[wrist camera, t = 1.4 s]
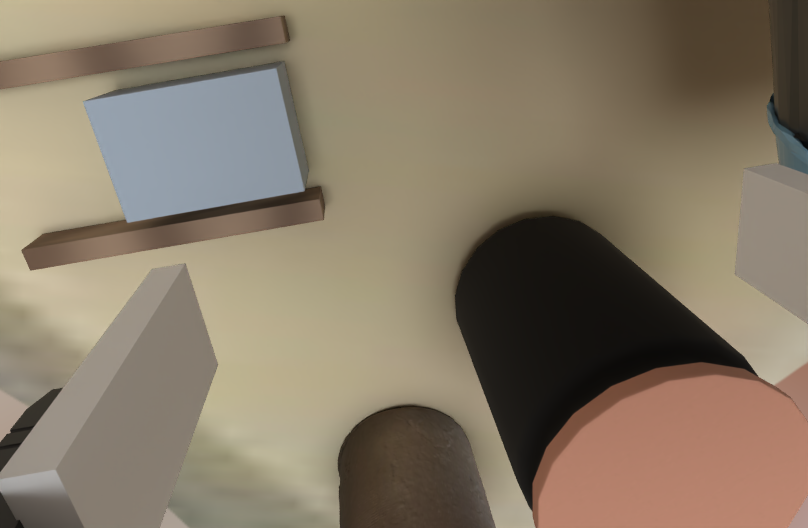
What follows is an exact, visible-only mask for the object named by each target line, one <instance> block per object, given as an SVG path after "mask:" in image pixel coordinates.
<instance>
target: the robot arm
mask: <svg viewBox="0 0 808 528" xmlns="http://www.w3.org/2000/svg"><path fill="white" fill-rule="evenodd" d="M768 2H769V17H770V33H771V48H772V64H773V85H774V93H773V94H772V96H771V99H770V102H769V103H768V105H767V117H768V123H769V125H770V127H771V129H772V131H773V133H774V134H775V135H776V142H777V150H778V159H779V164H777V163H774V164H768V165H762V166H756V167H750V168H744V174H743V186H742V197H741V209H740V220H739V231H738V243H737V254H736V265H735V275H736V276H738V277H739V278H741V279H742V280H744V281H745V282H747V283H748V284H750V285H751V286H753V287H754V288H756V289H757V290H759V291H760V292H761V293H763V294H764V295H766V296H767V297H769V298H770V299H772V300H773V301H775V302H776V303H778V304H779V305H781V306H782V307H784V308H785V309H787V310H788V311H790V312H791V313H793V314H794V315H795V316H797V317H798V318H800V319H801V320H803V321H804V322H806V323H807V324H808V0H768ZM217 366H218V363H217V360H216V357H215V353H214V350H213V347H212V344H211V341H210V338H209V335H208V332H207V329H206V326H205V322H204V319H203V316H202V313H201V310H200V307H199V304H198V301H197V298H196V295H195V291H194V288H193V285H192V282H191V279H190V276H189V273H188V270H187V267H186V264H179V265H173V266H167V267H161V268H155V269H152V270H151V271H150V272H149V274H148V275H147V276H146V278H145V279H144V280H143V282H142V283H141V284H140V286H139V287H138V288H137V290H136V291H135V292H134V294H133V295H132V296H131V298H130V299H129V300H128V302H127V303H126V305H125V306H124V307H123V309H122V310H121V311H120V313H119V314H118V315H117V317H116V318H115V319H114V321H113V322H112V323H111V325H110V326H109V327H108V329H107V330H106V331H105V333H104V334H103V335H102V337H101V338H100V339H99V341H98V342H97V343H96V345H95V346H94V347H93V349H92V350H91V351H90V353H89V354H88V355H87V357H86V358H85V359H84V361H83V362H82V363H81V365H80V366H79V368H78V369H77V370H76V372H75V373H74V374H73V376H72V377H71V378H70V380H69V381H68V382H67V384H66V385H65V386H64V388H59V389H53V390H51V391H50V392H49V393H47V394H46V395H45V396H43V397H42V398H41V399H39V400H38V401H37V402H35V403H34V404H33V405H32V406H30V407H29V408H28V409H26V411H25V412H24V413H23V415H22V416H21V417H20V418H19V420H18V421H17V422H16V423H15V425H14V426H13V427H12V428H11V430H10V431H11V433H10V434H7V435H6V436H5V437H4V439H3V440H2V441H1V442H0V528H160V526H161V522H162V520H163V517H164V514H165V512H166V509H167V506H168V503H169V500H170V498H171V495H172V492H173V489H174V486H175V484H176V481H177V478H178V475H179V472H180V470H181V467H182V464H183V461H184V458H185V456H186V453H187V450H188V447H189V444H190V442H191V439H192V436H193V433H194V430H195V428H196V425H197V422H198V419H199V417H200V414H201V411H202V408H203V405H204V403H205V400H206V397H207V394H208V391H209V389H210V386H211V383H212V380H213V377H214V375H215V372H216V369H217Z"/></svg>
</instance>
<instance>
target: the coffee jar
mask: <svg viewBox="0 0 808 528" xmlns="http://www.w3.org/2000/svg"><path fill="white" fill-rule="evenodd" d="M455 302H456V319H457V322H458V325H459V327H460V330H461V333H462V335H463V338H464V341H465V343H466V346H467V349H468V351H469V354H470V357H471V359H472V362H473V365H474V367H475V370H476V373H477V375H478V378H479V381H480V383H481V386H482V389H483V391H484V394H485V397H486V399H487V402H488V405H489V407H490V410H491V412H492V415H493V418H494V420H495V423H496V426H497V428H498V431H499V434H500V436H501V439H502V442H503V444H504V447H505V450H506V452H507V455H508V458H509V460H510V463H511V466H512V468H513V471H514V474H515V476H516V479H517V481H518V484H519V486H520V488H521V490H522V492H523V494H524V497H525V499H526V501H527V503H528V505H529V507H530V509H531V510H532V512H533V520H534V523H535V527H536V528H787V527H788V526H789V525H790V523H791V521H792V520H793V518H794V517H795V515H796V513H797V512H798V510H799V508H800V507H801V505H802V503H803V502H804V500H805V499H806V497H807V495H808V421H807V420H806V418H805V417H804V415H803V414H802V413H801V411H800V410H799V408H798V407H797V406H796V404H795V403H794V401H793V400H792V399H791V397H790V396H788V395H787V394H785V393H784V392H782V391H781V390H780V389H778V388H777V387H775V386H774V385H772V384H770V383H768V382H766V381H765V380H763V379H761V378H759V377H758V375H757V374H756V373H755V371H754V370H753V368H752V367H751V366H750V364H749V363H748V362H747V360H746V359H745V358H744V356H743V355H741V354H740V353H739V352H738V351H737V350H736V349H734V348H733V347H732V346H731V345H730V344H729V343H727V342H726V341H725V340H724V339H723V338H721V337H720V336H719V335H718V334H717V333H716V332H714V331H713V330H712V329H711V328H710V327H709V326H707V325H706V324H705V323H704V322H703V321H702V320H700V319H699V318H698V317H697V316H696V315H695V314H693V313H692V312H691V311H690V310H689V309H688V308H686V307H685V306H684V305H683V304H682V303H681V302H679V301H678V300H677V299H676V298H675V297H674V296H672V295H671V294H670V293H669V292H668V291H667V290H665V289H664V288H663V287H662V286H661V285H660V284H658V283H657V282H656V281H655V280H654V279H652V278H651V277H650V276H649V275H648V274H647V273H645V272H644V271H643V270H642V269H641V268H640V267H638V266H637V265H636V264H635V263H634V262H633V261H631V260H630V259H629V258H628V257H627V256H626V255H624V254H623V253H622V252H621V251H620V250H619V249H617V248H616V247H615V246H614V245H613V244H612V243H610V242H609V241H608V240H607V239H606V238H605V237H603V236H602V235H601V234H600V233H598V232H596V231H595V230H593V229H591V228H590V227H588V226H586V225H585V224H583V223H581V222H580V221H576V220H571V219H566V218H561V217H555V216H549V217H540V218H532V219H524V220H522V221H519V222H517V223H515V224H512V225H510V226H508V227H505V228H503V229H501V230H498V231H497V232H496V233H495V234H494V235H492V236H491V237H490V238H489V239H488V240H486V241H485V242H484V243H483V244H481V245H480V246H479V247H478V248H477V249H476V251H475V252H474V254H473V255H472V257H471V258H470V260H469V261H468V263H467V264H466V266H465V267H464V269H463V270H462V273H461V277H460V280H459V284H458V287H457V291H456V294H455Z"/></svg>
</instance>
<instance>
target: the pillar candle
mask: <svg viewBox="0 0 808 528" xmlns="http://www.w3.org/2000/svg"><path fill="white" fill-rule="evenodd" d="M338 471H339V475H340V486H339V504H340V528H496V527H495V523H494V520H493V518H492V514H491V511H490V507H489V504H488V501H487V497H486V494H485V490H484V487H483V485H482V481H481V478H480V475H479V472H478V469H477V466H476V462H475V459H474V456H473V453H472V449H471V446H470V443H469V441H468V439H467V437H466V435H465V433H464V432H463V430H462V428H461V427H460V426H459V425H458V424H457V423H456V422H454V420H453V419H451V418H450V417H449V416H447V415H445V414H443V413H440V412H438V411H435V410H432V409H427V408H422V407H402V408H397V409H391V410H387V411H383V412H380V413H377V414H374V415H372V416H370V417H368V418H367V419H365V420H364V421H362V422H361V423H360V424H358V425H357V426H356V427H355V428H354V429H353V430H352V432H351V434H349V436H347V438H346V439H345V441H344V443H343V445H342V447H341V450H340V453H339V458H338Z"/></svg>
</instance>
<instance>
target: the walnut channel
mask: <svg viewBox="0 0 808 528" xmlns="http://www.w3.org/2000/svg"><path fill="white" fill-rule="evenodd" d="M288 41H290V39H289V34H288V29H287V25H286V20H285V16H279V17H272V18H266V19H260V20H254V21H248V22H242V23H235V24H229V25H223V26H217V27H211V28H204V29H198V30H192V31H186V32H180V33H173V34H167V35H161V36H155V37H149V38H143V39H136V40H130V41H124V42H118V43H112V44H105V45H99V46H93V47H87V48H81V49H74V50H68V51H62V52H56V53H50V54H44V55H37V56H31V57H25V58H19V59H13V60H6V61H0V89H5V88H11V87H17V86H24V85H30V84H36V83H42V82H48V81H54V80H60V79H67V78H73V77H79V76H85V75H91V74H97V73H103V72H109V71H116V70H122V69H128V68H134V67H140V66H146V65H152V64H159V63H165V62H171V61H177V60H183V59H189V58H195V57H202V56H208V55H214V54H220V53H226V52H232V51H238V50H244V49H251V48H257V47H263V46H269V45H275V44H281V43H286V42H288ZM324 211H325V204H324V200H323V195H322V190H321V187H315V188H310V189H305V191H303V192H297V193H292V194H286V195H280V196H275V197H269V198H264V199H258V200H252V201H247V202H241V203H236V204H230V205H224V206H219V207H213V208H208V209H202V210H196V211H191V212H185V213H180V214H174V215H168V216H163V217H157V218H152V219H146V220H140V221H135V222H129V223H127V221H126V220H122V221H116V222H111V223H105V224H99V225H93V226H87V227H81V228H75V229H70V230H64V231H58V232H52V233H46V234H42V235H41V236H40V237H38V238H37V239H36V240H34V241H33V242H32V243H30V244H29V245H28V246H26V247H25V248H24V249H22V253H23V255H24V257H25V260H26V262H27V264H28V266H29V269H30V271H31V270H36V269H42V268H48V267H54V266H59V265H65V264H71V263H77V262H83V261H88V260H94V259H100V258H106V257H112V256H117V255H123V254H129V253H135V252H141V251H146V250H152V249H158V248H164V247H170V246H175V245H181V244H187V243H193V242H199V241H204V240H210V239H216V238H222V237H228V236H233V235H239V234H245V233H251V232H256V231H262V230H268V229H274V228H280V227H285V226H291V225H297V224H303V223H309V222H314V221H320V220H324Z"/></svg>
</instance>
